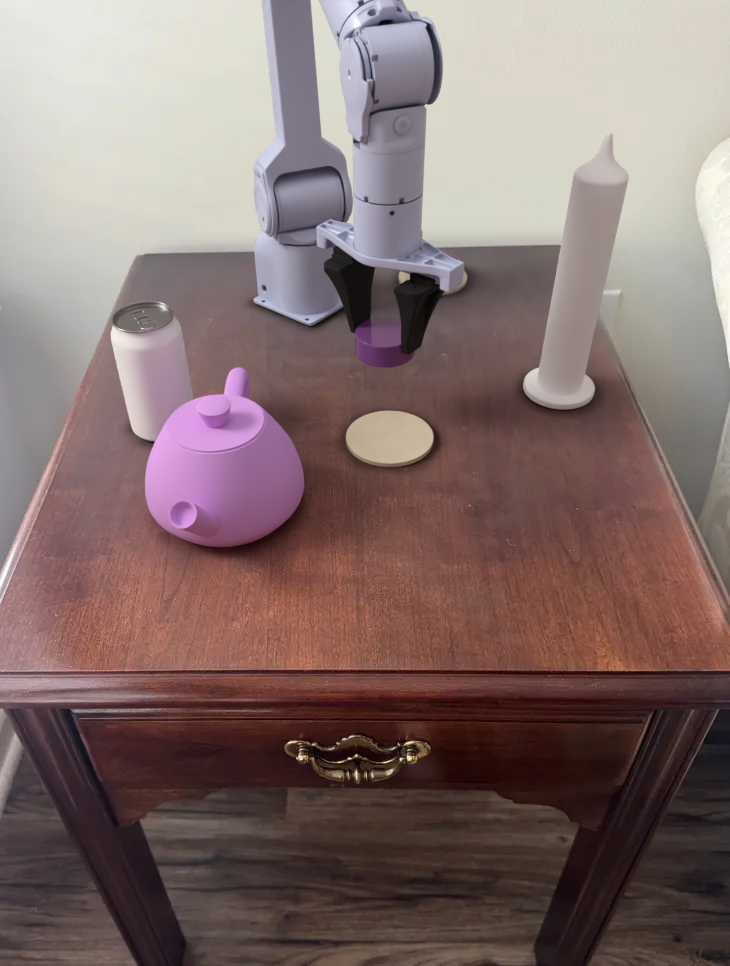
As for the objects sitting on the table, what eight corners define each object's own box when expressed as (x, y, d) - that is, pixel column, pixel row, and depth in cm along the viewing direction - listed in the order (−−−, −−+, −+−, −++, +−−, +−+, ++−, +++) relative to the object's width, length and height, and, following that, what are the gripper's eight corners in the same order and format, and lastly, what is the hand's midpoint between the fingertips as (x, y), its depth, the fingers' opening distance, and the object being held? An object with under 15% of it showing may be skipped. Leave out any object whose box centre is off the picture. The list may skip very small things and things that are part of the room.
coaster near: (327, 444, 82) (327, 440, 81) (382, 404, 86) (382, 400, 86) (397, 479, 78) (397, 475, 77) (450, 435, 82) (451, 431, 82)
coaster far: (384, 282, 105) (384, 279, 105) (425, 258, 109) (425, 254, 109) (440, 303, 101) (440, 299, 101) (480, 276, 105) (480, 272, 105)
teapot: (114, 583, 69) (83, 482, 62) (181, 436, 83) (164, 340, 76) (280, 599, 67) (269, 497, 60) (320, 446, 82) (316, 348, 74)
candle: (590, 415, 84) (653, 151, 66) (518, 404, 85) (561, 143, 68) (596, 376, 89) (656, 121, 71) (527, 366, 90) (569, 114, 73)
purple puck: (343, 354, 80) (342, 333, 79) (381, 330, 83) (381, 310, 82) (388, 375, 77) (389, 353, 76) (427, 350, 80) (428, 329, 79)
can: (144, 452, 82) (119, 341, 74) (123, 418, 86) (97, 309, 78) (206, 431, 84) (189, 322, 76) (183, 399, 88) (164, 292, 80)
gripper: (490, 196, 68) (475, 345, 78) (351, 158, 76) (353, 299, 85) (439, 226, 65) (430, 379, 74) (297, 183, 72) (305, 328, 81)
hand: (385, 338), depth 79 cm, fingers closed on purple puck, 5 cm apart
